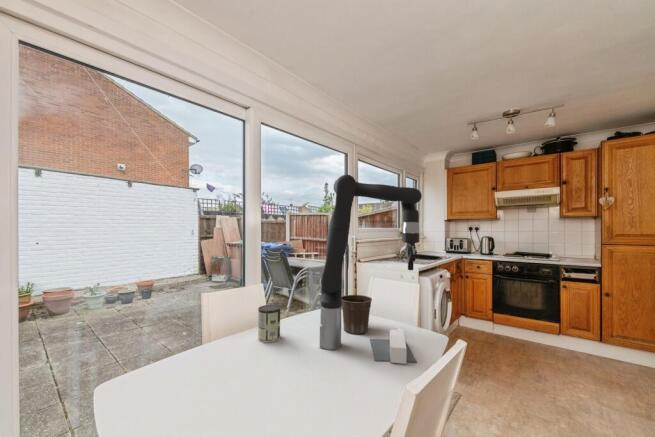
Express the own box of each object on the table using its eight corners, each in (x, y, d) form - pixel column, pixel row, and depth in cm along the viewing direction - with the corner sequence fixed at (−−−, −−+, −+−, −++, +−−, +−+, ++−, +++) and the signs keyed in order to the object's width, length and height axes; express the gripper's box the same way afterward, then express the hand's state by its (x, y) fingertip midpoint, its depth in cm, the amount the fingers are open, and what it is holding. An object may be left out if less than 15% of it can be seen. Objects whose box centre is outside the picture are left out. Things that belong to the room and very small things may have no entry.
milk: (390, 346, 108) (389, 326, 130) (390, 362, 108) (389, 340, 130) (406, 348, 107) (403, 328, 129) (406, 364, 107) (403, 341, 129)
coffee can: (268, 332, 139) (269, 303, 139) (284, 336, 133) (285, 306, 134) (252, 339, 130) (253, 308, 130) (269, 344, 125) (269, 312, 125)
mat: (375, 361, 110) (375, 359, 110) (369, 339, 131) (369, 338, 131) (416, 362, 109) (416, 361, 109) (404, 341, 130) (404, 339, 130)
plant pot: (341, 323, 153) (341, 293, 153) (371, 325, 150) (371, 295, 151) (338, 335, 137) (338, 301, 137) (372, 337, 134) (372, 303, 135)
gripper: (399, 231, 137) (399, 267, 136) (405, 232, 123) (405, 272, 123) (415, 232, 136) (415, 268, 136) (423, 232, 123) (423, 272, 123)
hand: (410, 270), depth 129 cm, fingers closed
